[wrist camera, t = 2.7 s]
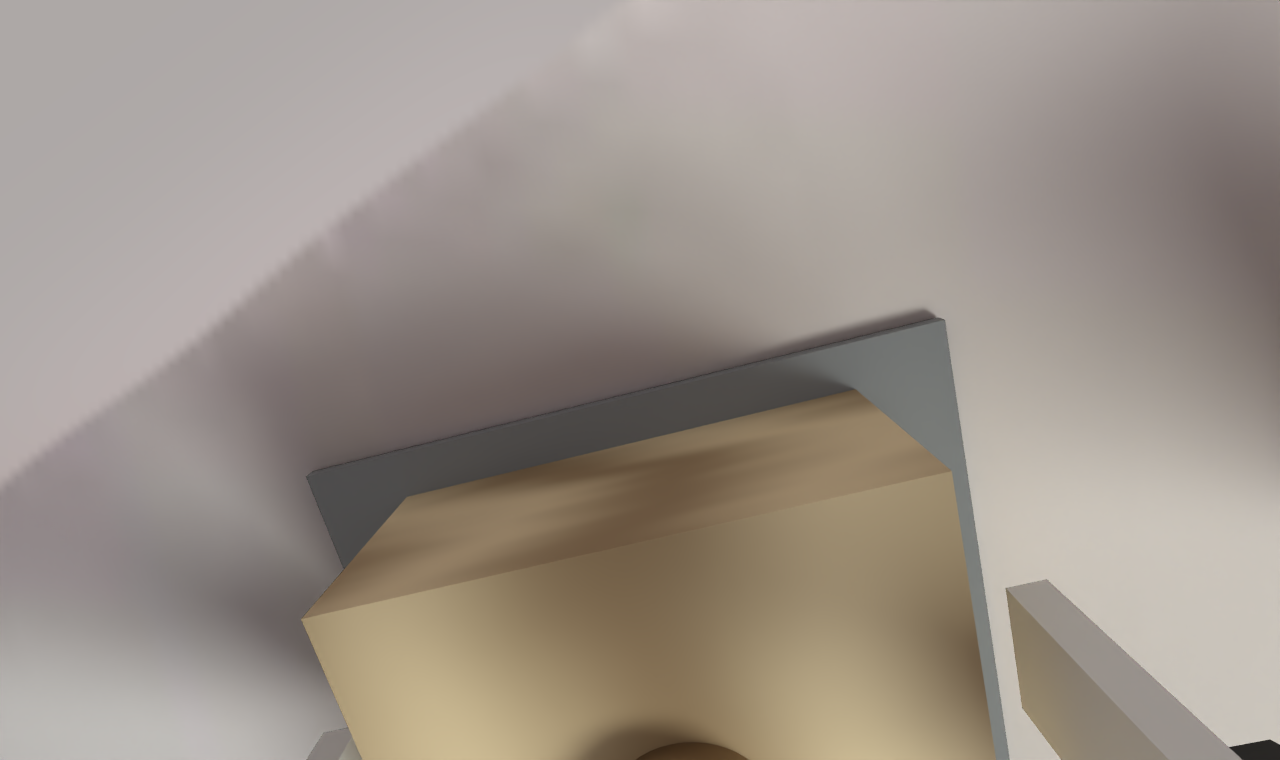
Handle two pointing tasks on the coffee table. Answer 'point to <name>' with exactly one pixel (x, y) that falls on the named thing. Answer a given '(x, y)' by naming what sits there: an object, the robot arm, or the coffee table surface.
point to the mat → (872, 364)
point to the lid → (672, 604)
